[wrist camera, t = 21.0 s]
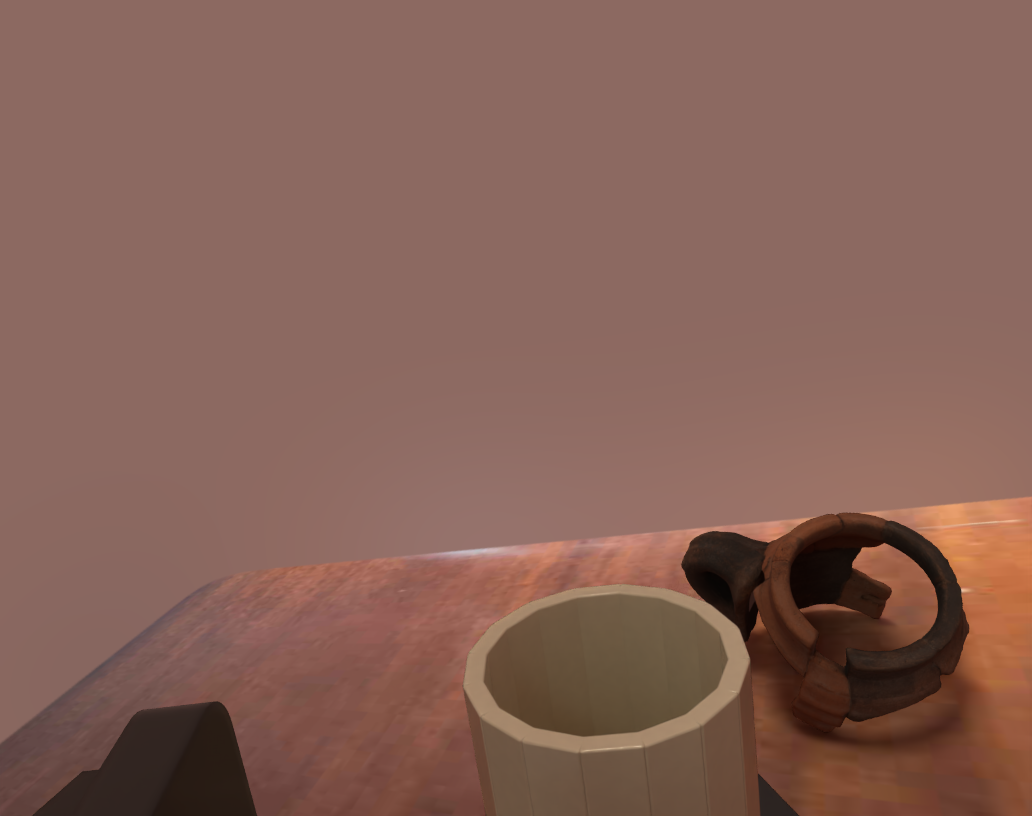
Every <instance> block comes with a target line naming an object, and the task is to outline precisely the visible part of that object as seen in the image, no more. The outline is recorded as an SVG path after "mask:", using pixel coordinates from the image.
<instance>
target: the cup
mask: <svg viewBox="0 0 1032 816" xmlns="http://www.w3.org/2000/svg"><path fill="white" fill-rule="evenodd" d="M463 690H464V696H465V701H466V707H467V712H468V718H469V724H470V729H471V735H472V740H473V746H474V752H475V757H476V763H477V768H478V774H479V780H480V785H481V791H482V796H483V802H484V808H485V813H486V816H760V802H759V786H758V771H757V755H756V739H755V724H754V708H753V692H752V677H751V661H750V656H749V654H748V651H747V648H746V645H745V643H744V640H743V637H742V634H741V632H740V629H739V628H738V627H737V626H736V625H735V624H734V623H733V622H731V621H730V620H729V619H728V618H727V617H725V616H724V615H723V614H722V613H720V612H719V611H718V610H717V609H716V608H714V607H713V606H712V605H711V604H708V603H707V602H704V601H701V600H698V599H696V598H693V597H690V596H687V595H684V594H682V593H679V592H676V591H673V590H670V589H668V590H667V589H666V588H657V587H647V586H637V585H627V584H621V585H620V584H614V585H604V586H594V587H584V588H575V589H570V590H567V591H563V592H560V593H557V594H554V595H551V596H547V597H544V598H541V599H538V600H535V601H531V602H529V603H527V604H525V605H523V606H521V607H520V608H518V609H516V610H515V611H513V612H512V613H510V614H508V615H507V616H505V617H503V618H502V619H500V620H498V621H497V622H495V623H493V624H492V625H491V626H490V627H489V628H488V629H487V631H486V632H485V633H484V634H483V635H482V637H481V638H480V639H479V640H478V642H477V643H476V644H475V645H474V646H473V648H472V649H471V650H470V651H469V654H468V656H467V661H466V668H465V674H464V681H463Z"/></svg>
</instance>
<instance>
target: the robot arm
mask: <svg viewBox="0 0 1032 816" xmlns="http://www.w3.org/2000/svg"><path fill="white" fill-rule="evenodd" d="M33 816H257V814H256V810H255V806H254V803H253V799H252V795H251V792H250V788H249V784H248V780H247V777H246V773H245V769H244V766H243V762H242V758H241V754H240V751H239V747H238V743H237V740H236V736H235V732H234V728H233V725H232V721H231V718H230V716H229V713H228V711H227V709H226V708H225V706H224V705H223V704H221V703H220V702H207V703H198V704H190V705H181V706H173V707H164V708H155V709H147V710H141V711H139V712H137V713H136V714H135V715H134V716H133V717H132V718H131V720H130V721H129V723H128V724H127V726H126V727H125V729H124V731H123V732H122V734H121V735H120V737H119V739H118V740H117V742H116V743H115V745H114V747H113V748H112V750H111V752H110V753H109V755H108V756H107V758H106V760H105V761H104V763H103V764H102V766H101V768H100V769H99V770H92V771H83V772H81V773H80V774H79V775H78V776H77V777H76V778H74V779H73V780H72V781H71V782H70V783H69V784H68V785H66V786H65V787H64V788H63V789H62V790H61V791H60V792H59V793H57V794H56V795H55V796H54V797H53V798H52V799H51V800H49V801H48V802H47V803H46V804H45V805H44V806H43V807H41V808H40V809H39V810H38V811H37V812H36V813H35V814H34V815H33Z"/></svg>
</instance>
